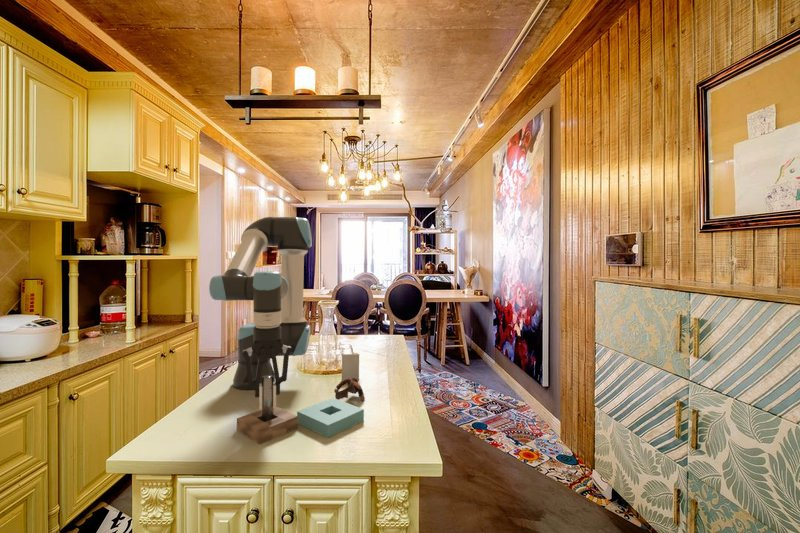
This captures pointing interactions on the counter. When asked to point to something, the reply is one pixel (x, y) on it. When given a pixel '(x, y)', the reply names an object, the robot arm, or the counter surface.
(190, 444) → the counter surface
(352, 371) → the white box
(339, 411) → the dock socket
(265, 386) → the pin
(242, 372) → the robot arm
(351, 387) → the brown ring with knob
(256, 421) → the pin mount
